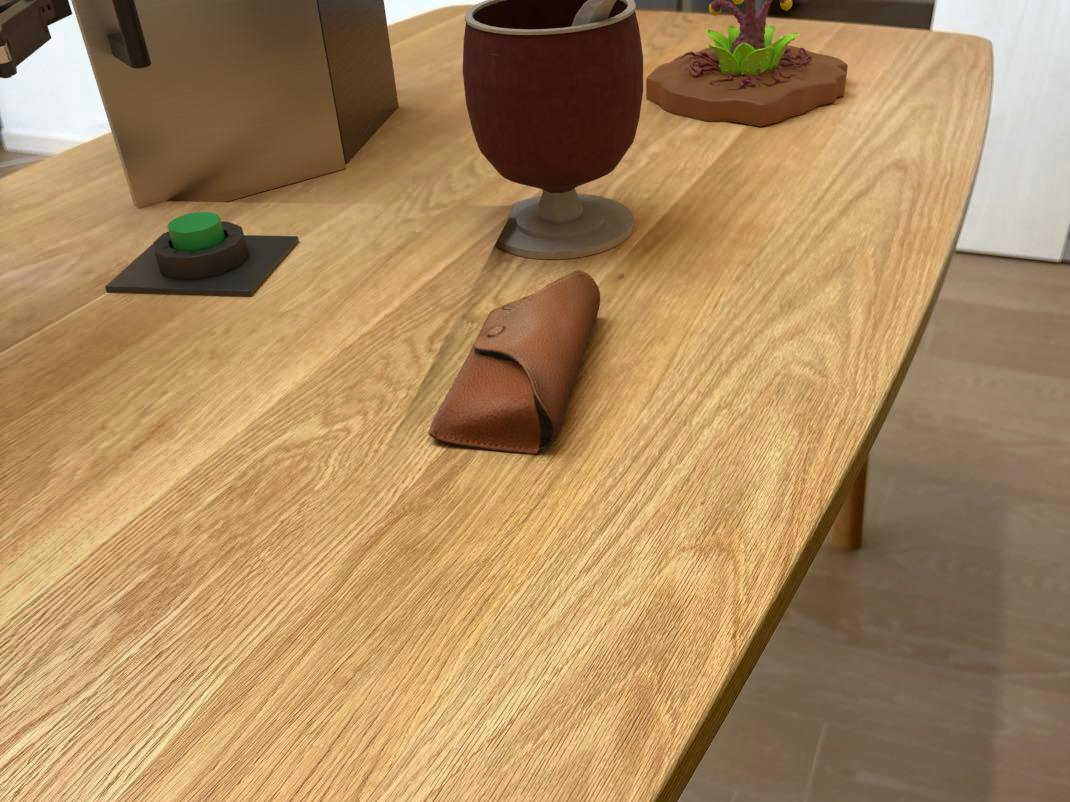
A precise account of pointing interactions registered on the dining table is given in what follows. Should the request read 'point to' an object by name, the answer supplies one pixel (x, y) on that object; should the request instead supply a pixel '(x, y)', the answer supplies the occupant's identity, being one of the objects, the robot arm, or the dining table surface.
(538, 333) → the sunglasses case
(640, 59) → the mate gourd
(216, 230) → the button
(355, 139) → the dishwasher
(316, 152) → the dishwasher door
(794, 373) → the dining table surface
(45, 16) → the robot arm
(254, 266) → the panel
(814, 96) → the plant
